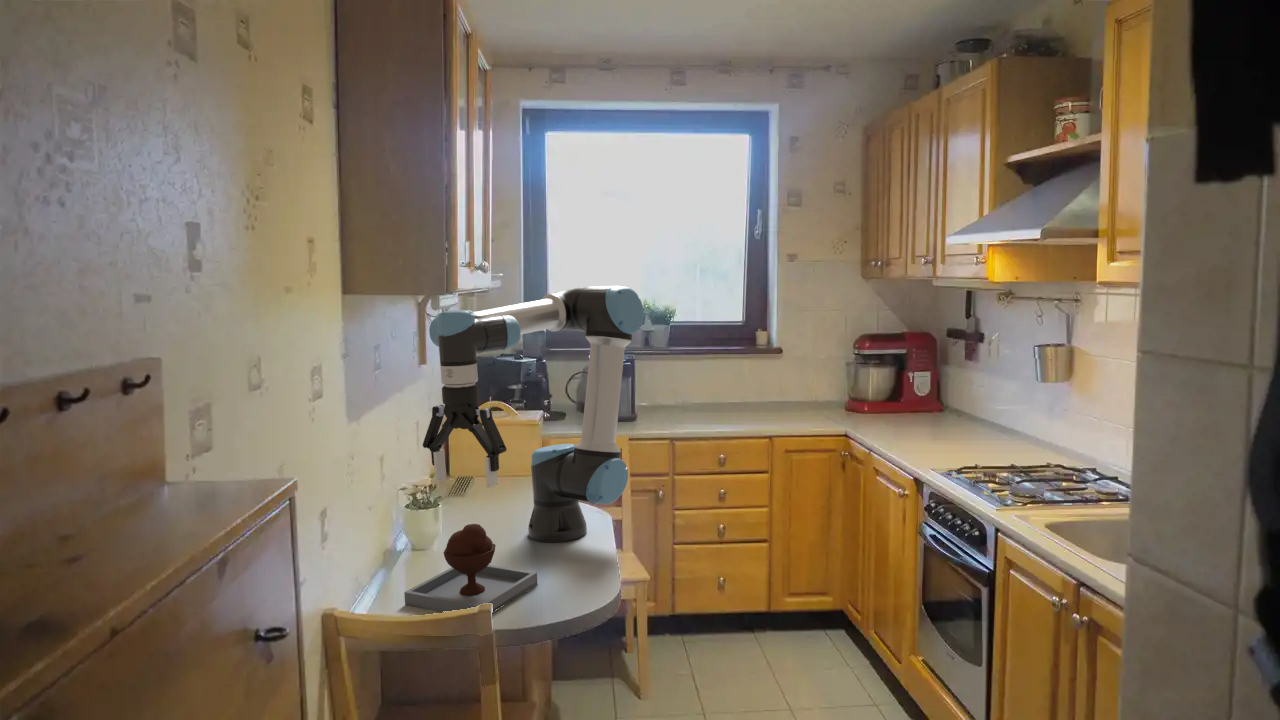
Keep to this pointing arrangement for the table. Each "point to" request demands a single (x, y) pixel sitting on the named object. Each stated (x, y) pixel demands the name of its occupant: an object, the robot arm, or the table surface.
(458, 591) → the tray
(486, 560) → the ice cream bowl
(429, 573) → the table surface
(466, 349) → the robot arm
